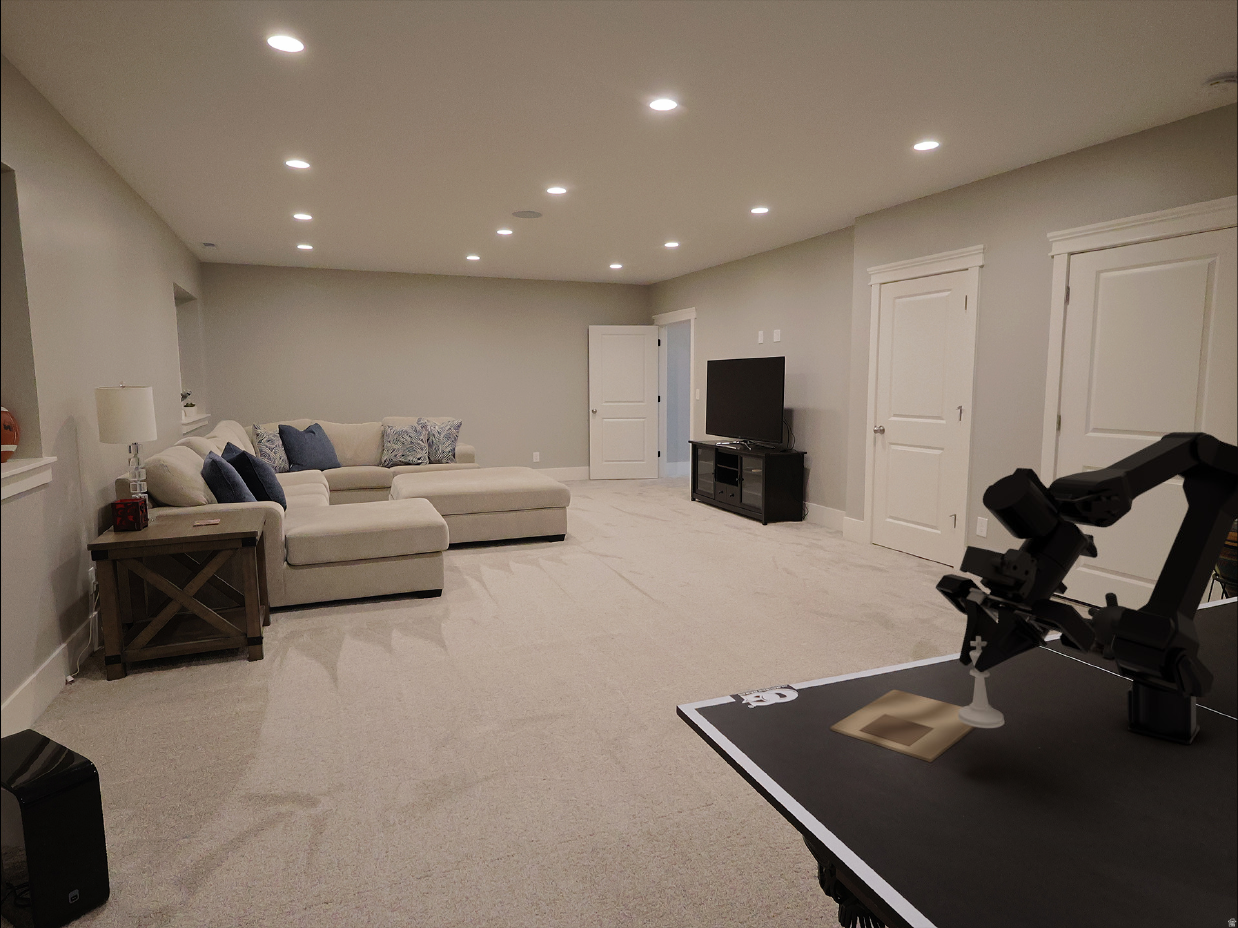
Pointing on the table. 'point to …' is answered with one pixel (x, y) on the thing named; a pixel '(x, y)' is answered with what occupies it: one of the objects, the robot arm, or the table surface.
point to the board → (907, 725)
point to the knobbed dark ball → (1106, 623)
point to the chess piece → (980, 697)
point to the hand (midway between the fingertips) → (969, 666)
